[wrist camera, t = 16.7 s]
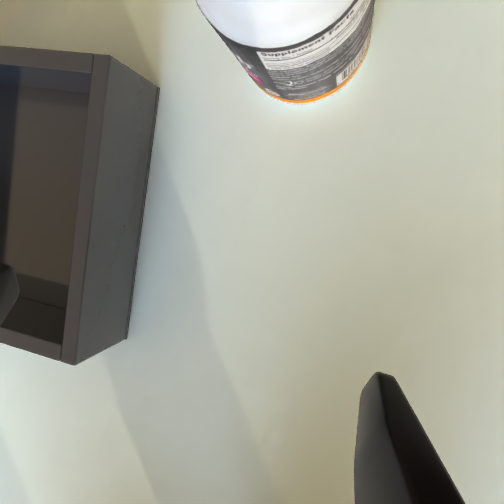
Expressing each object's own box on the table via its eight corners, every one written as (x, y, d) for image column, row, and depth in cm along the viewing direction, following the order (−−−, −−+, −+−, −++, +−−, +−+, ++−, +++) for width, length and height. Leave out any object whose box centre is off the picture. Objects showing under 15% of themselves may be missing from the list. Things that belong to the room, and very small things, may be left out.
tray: (160, 87, 20) (110, 54, 16) (127, 338, 22) (74, 366, 18) (-44, 66, 23) (-129, 34, 19) (-58, 286, 25) (-138, 299, 21)
